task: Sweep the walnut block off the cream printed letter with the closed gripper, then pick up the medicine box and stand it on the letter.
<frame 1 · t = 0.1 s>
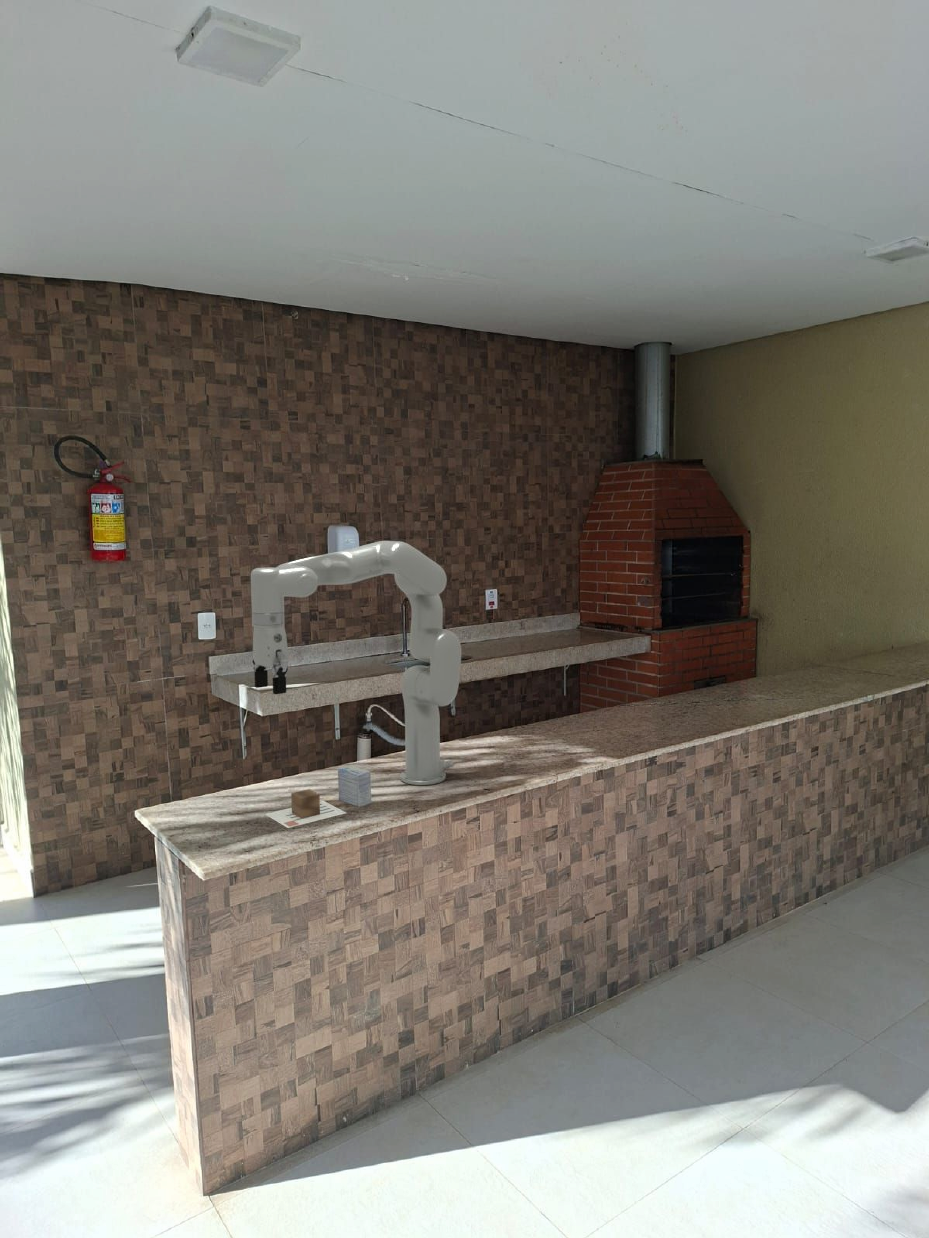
hand: (270, 690, 210), 31 cm above the countertop, tool pointing down, fingers open, 9 cm apart
walnut block: (305, 813, 214), resting on letter
letter: (305, 814, 214), on the countertop
medicine box: (354, 803, 223), on the countertop
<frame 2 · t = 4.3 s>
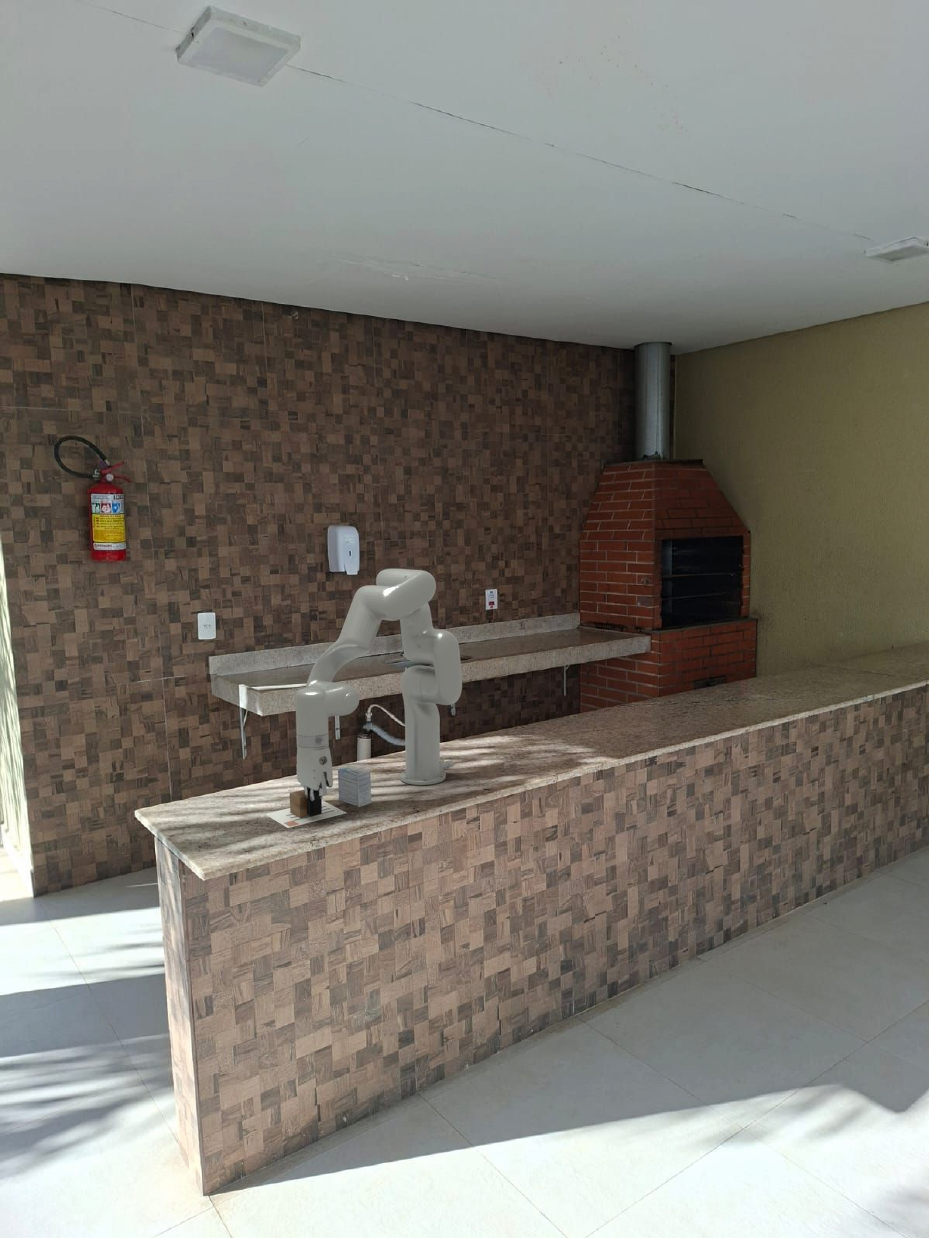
hand: (314, 814, 210), 1 cm above the countertop, tool pointing down, fingers closed
nothing on the countertop moved.
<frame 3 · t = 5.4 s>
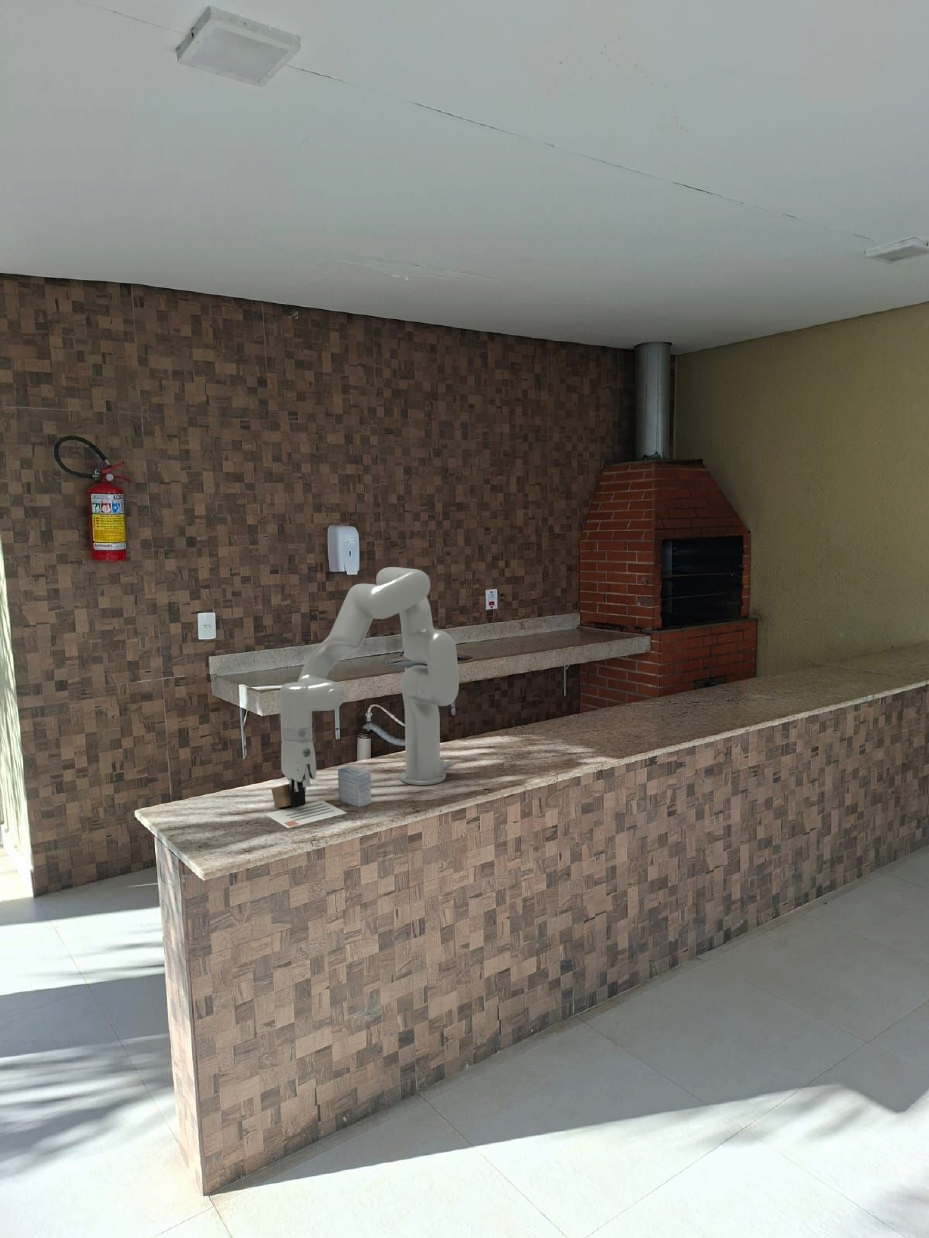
hand: (298, 805, 217), 1 cm above the countertop, tool pointing down, fingers closed
walnut block: (289, 804, 219), point 1 cm above the countertop, tilted 19°, touching gripper
everything else where it was.
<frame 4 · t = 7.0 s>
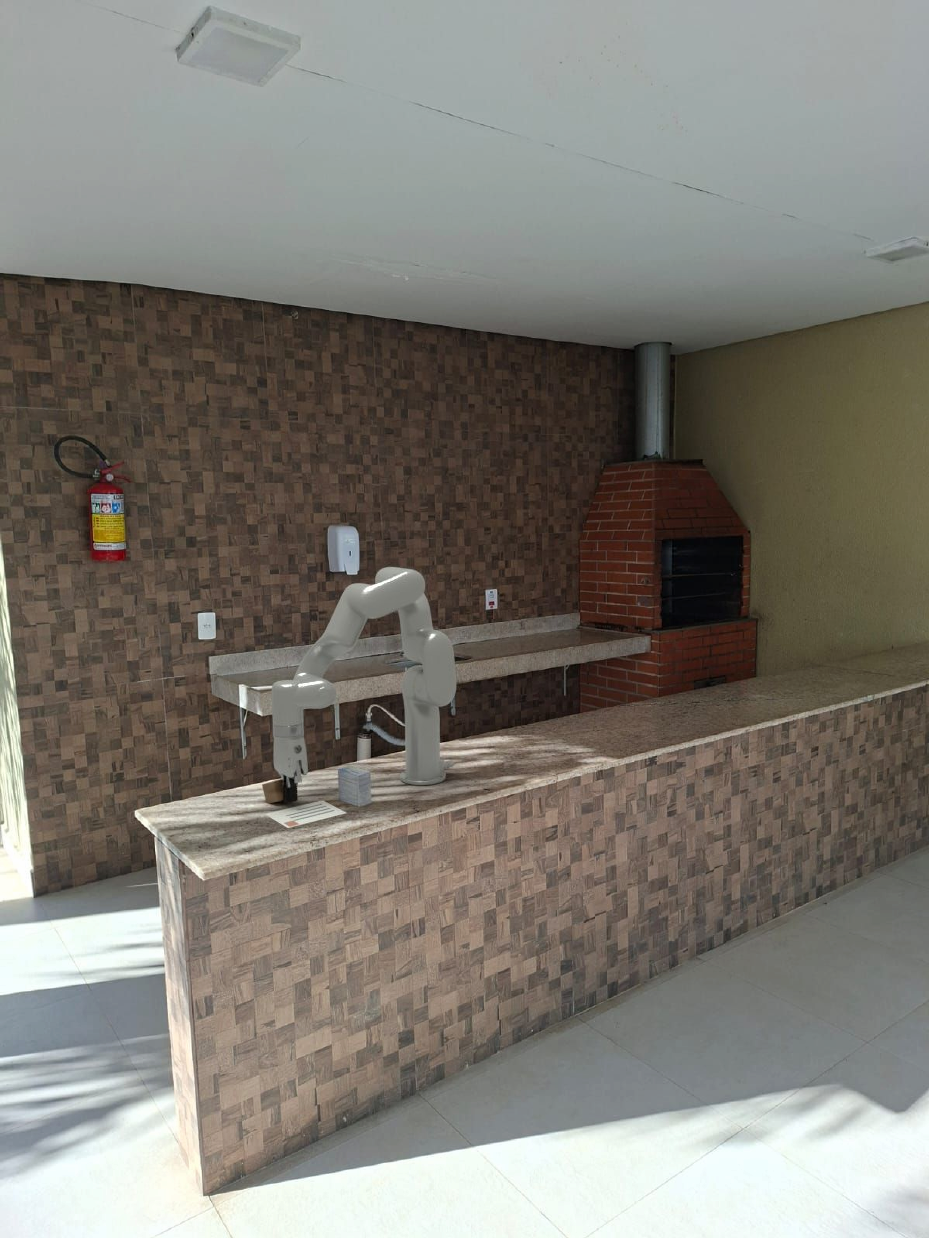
hand: (290, 800, 220), 1 cm above the countertop, tool pointing down, fingers closed
walnut block: (280, 800, 223), point 1 cm above the countertop, tilted 19°, touching gripper
everything else where it was.
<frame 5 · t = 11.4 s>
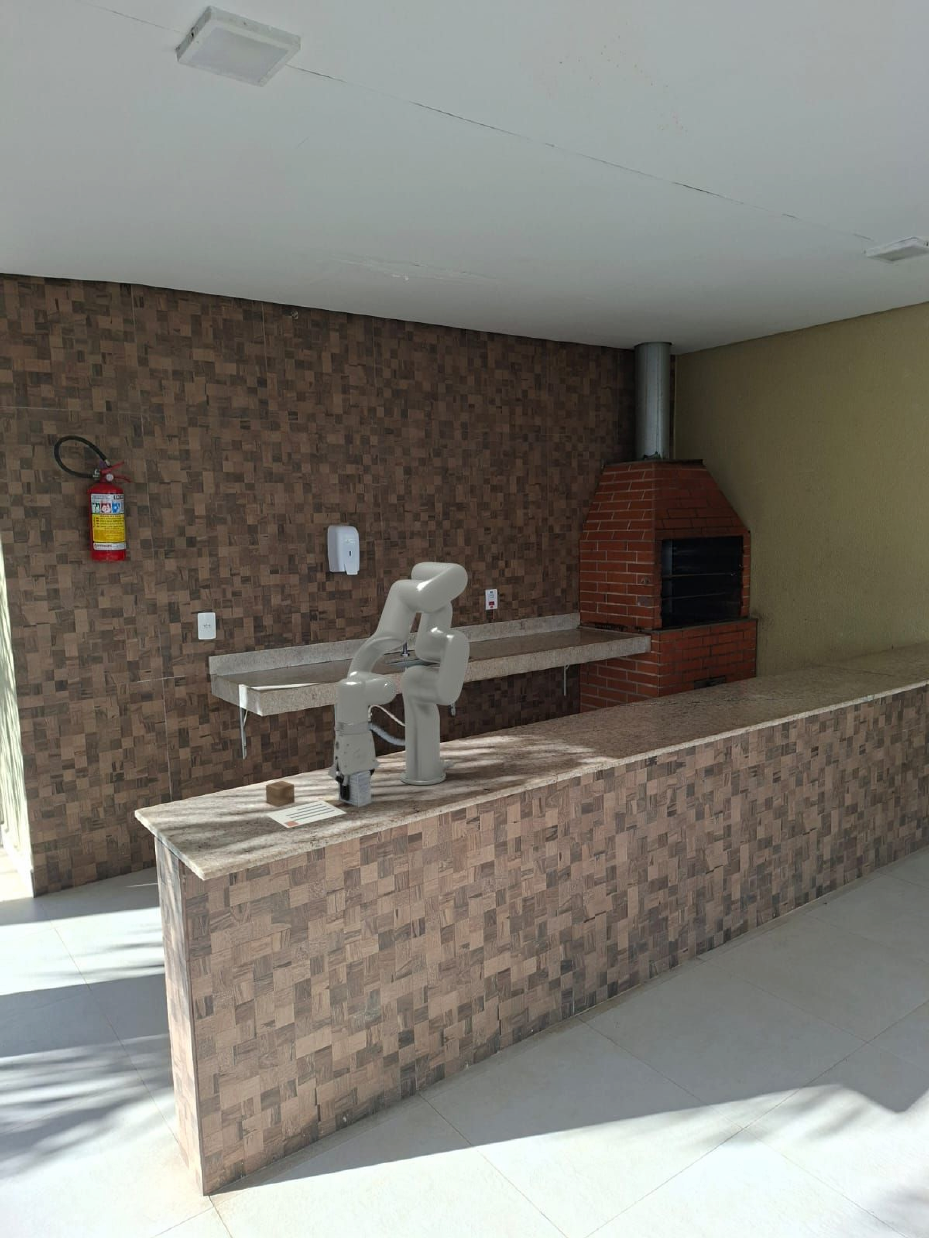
hand: (354, 796, 223), 2 cm above the countertop, tool pointing down, fingers closed on medicine box, 5 cm apart
walnut block: (280, 803, 223), on the countertop
medicine box: (354, 803, 223), on the countertop, touching gripper
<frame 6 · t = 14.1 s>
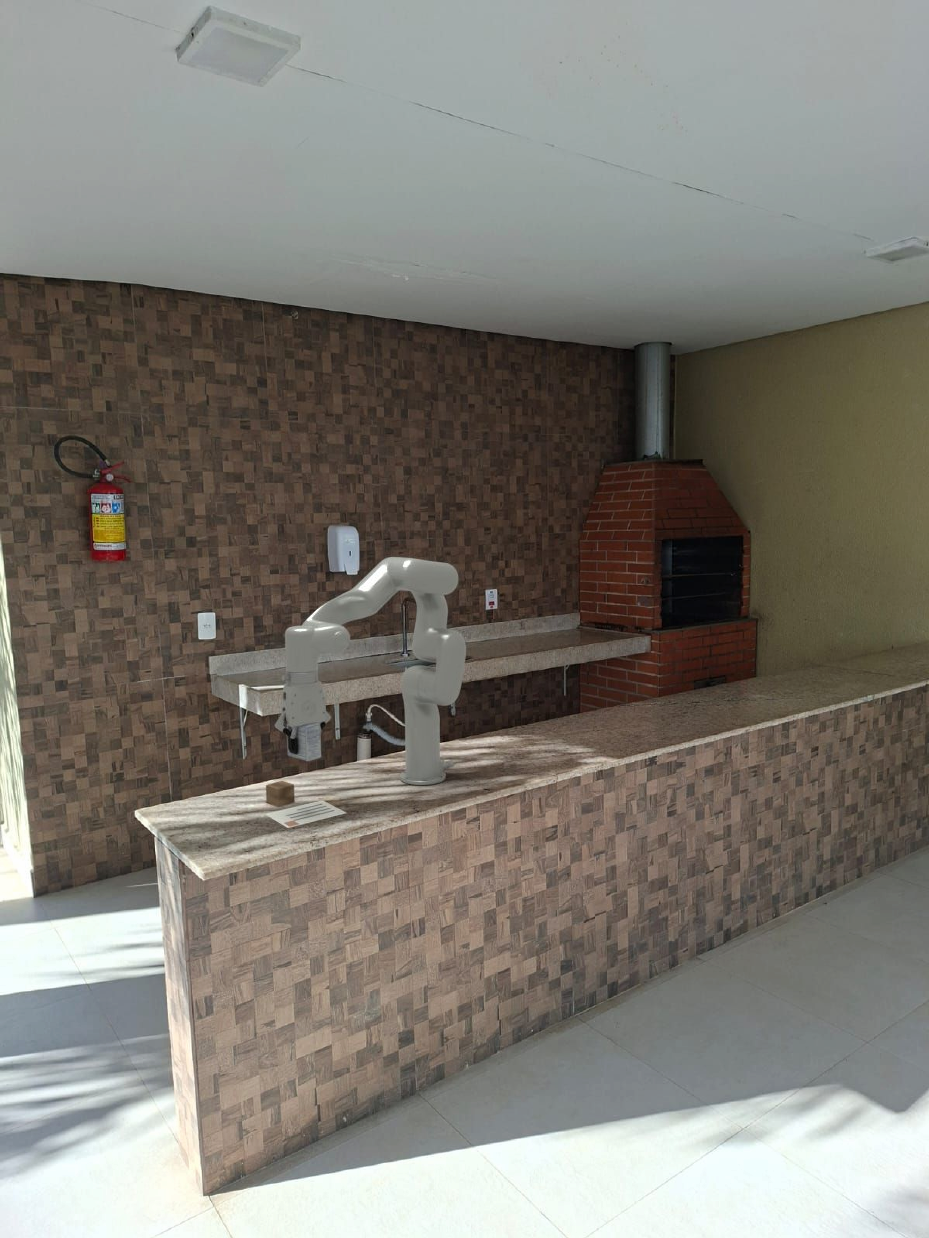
hand: (304, 750, 212), 16 cm above the countertop, tool pointing down, fingers closed on medicine box, 5 cm apart
medicine box: (304, 757, 212), point 14 cm above the countertop, touching gripper
everything else where it was.
when the fingers open (3 cm above the countertop, at t = 16.7 s): medicine box stays where it is, resting on letter.
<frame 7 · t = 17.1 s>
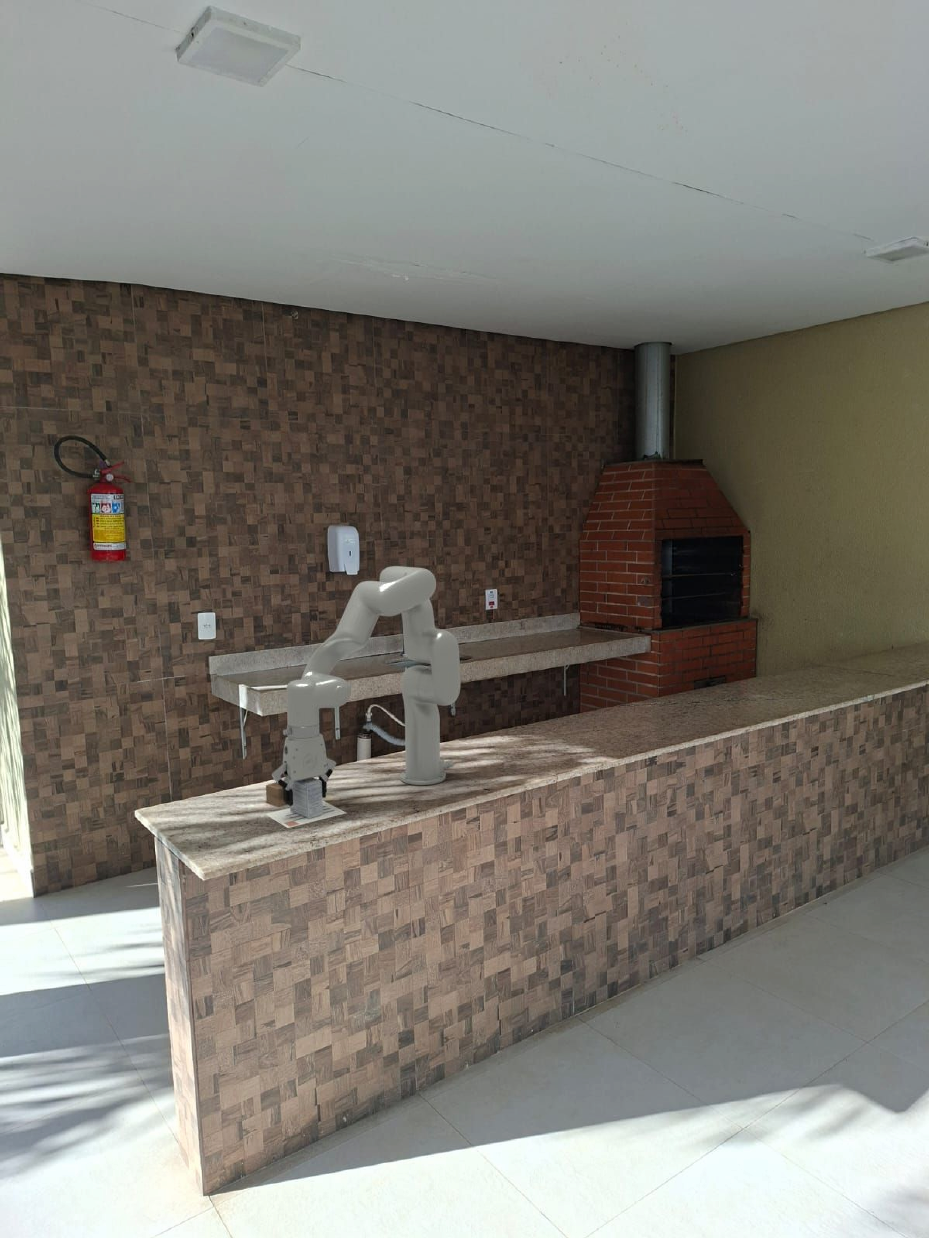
hand: (305, 800, 214), 4 cm above the countertop, tool pointing down, fingers open, 8 cm apart
medicine box: (306, 814, 214), resting on letter
everything else where it was.
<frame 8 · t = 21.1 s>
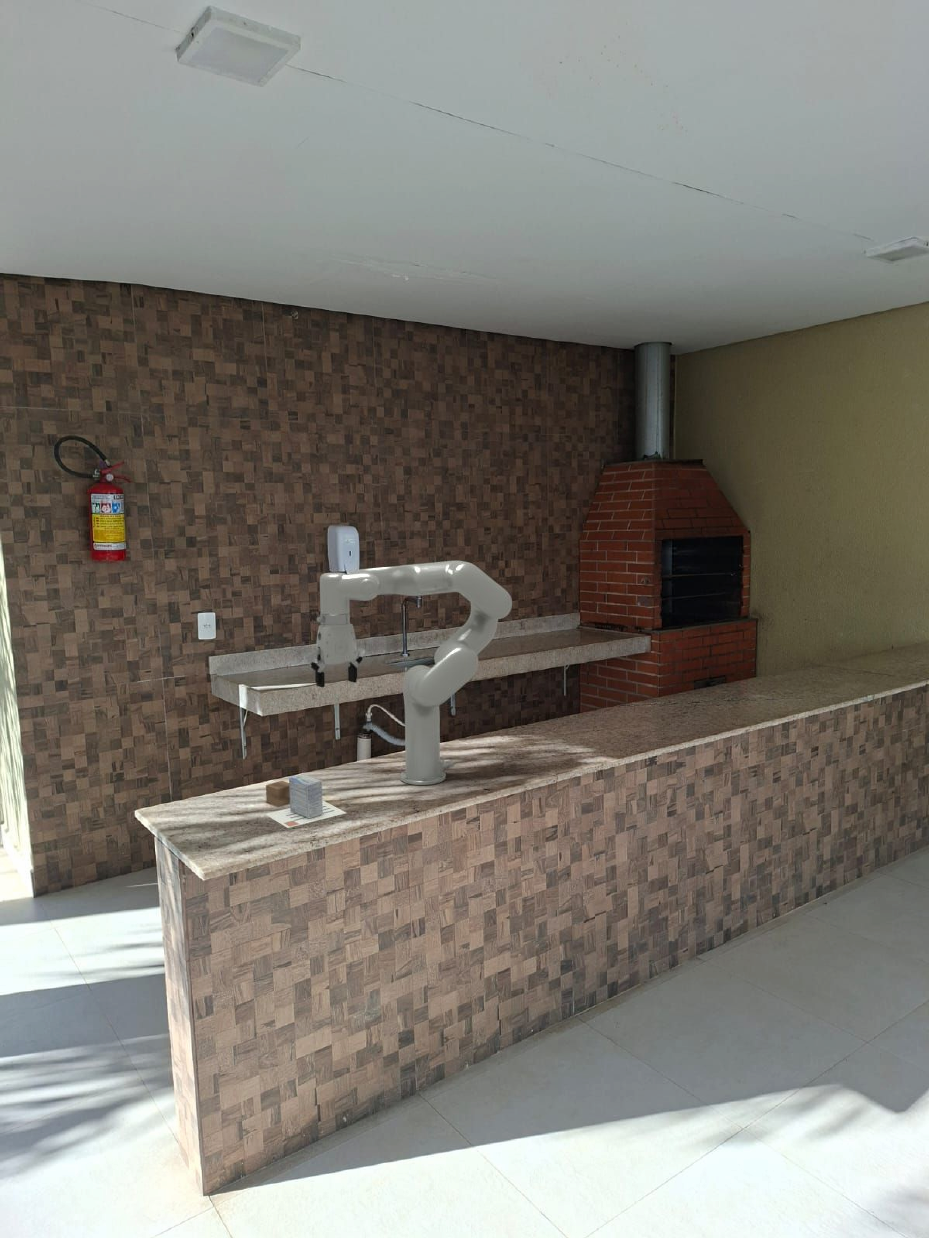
hand: (336, 684, 231), 28 cm above the countertop, tool pointing down, fingers open, 9 cm apart
nothing on the countertop moved.
at the end: medicine box inside the target area on the letter (0.2 cm from its centre), point 0.1 cm above the letter's base; medicine box tilted 0°; walnut block touching countertop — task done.
